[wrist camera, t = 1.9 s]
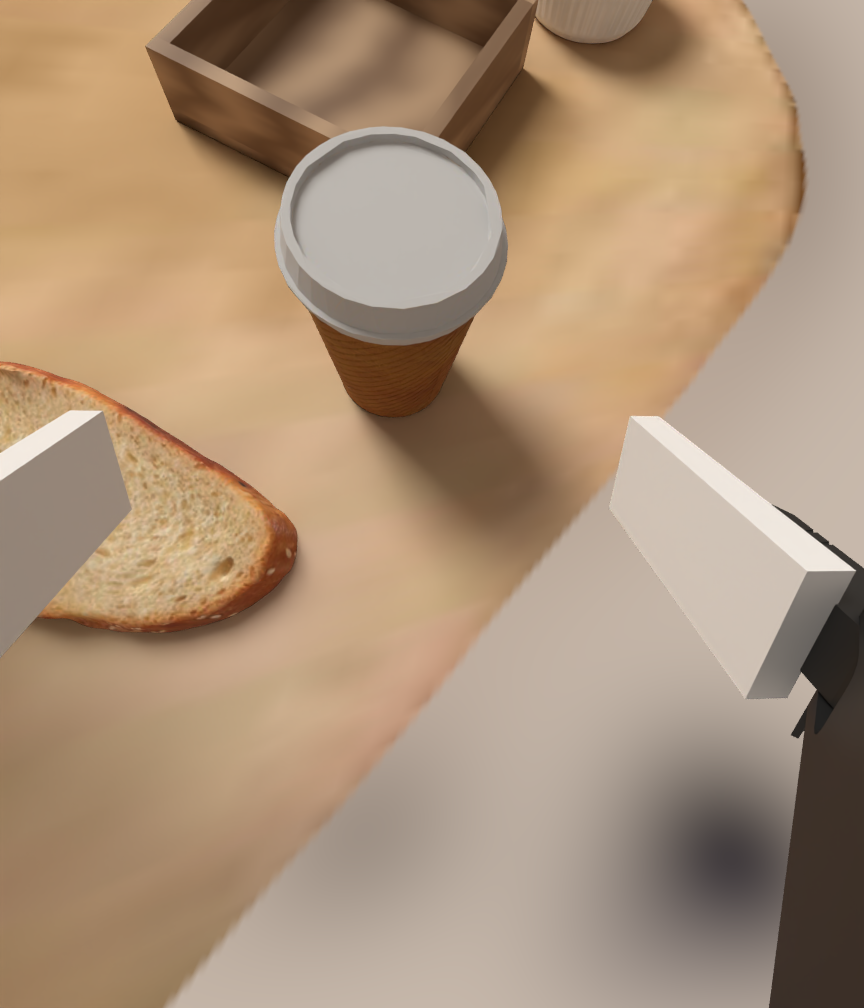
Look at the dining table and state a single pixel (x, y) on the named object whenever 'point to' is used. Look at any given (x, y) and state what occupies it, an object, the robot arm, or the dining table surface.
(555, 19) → the ramekin
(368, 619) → the dining table surface
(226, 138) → the open wooden box
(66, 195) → the dining table surface
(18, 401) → the bread slice
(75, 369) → the dining table surface
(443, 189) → the disposable coffee cup
